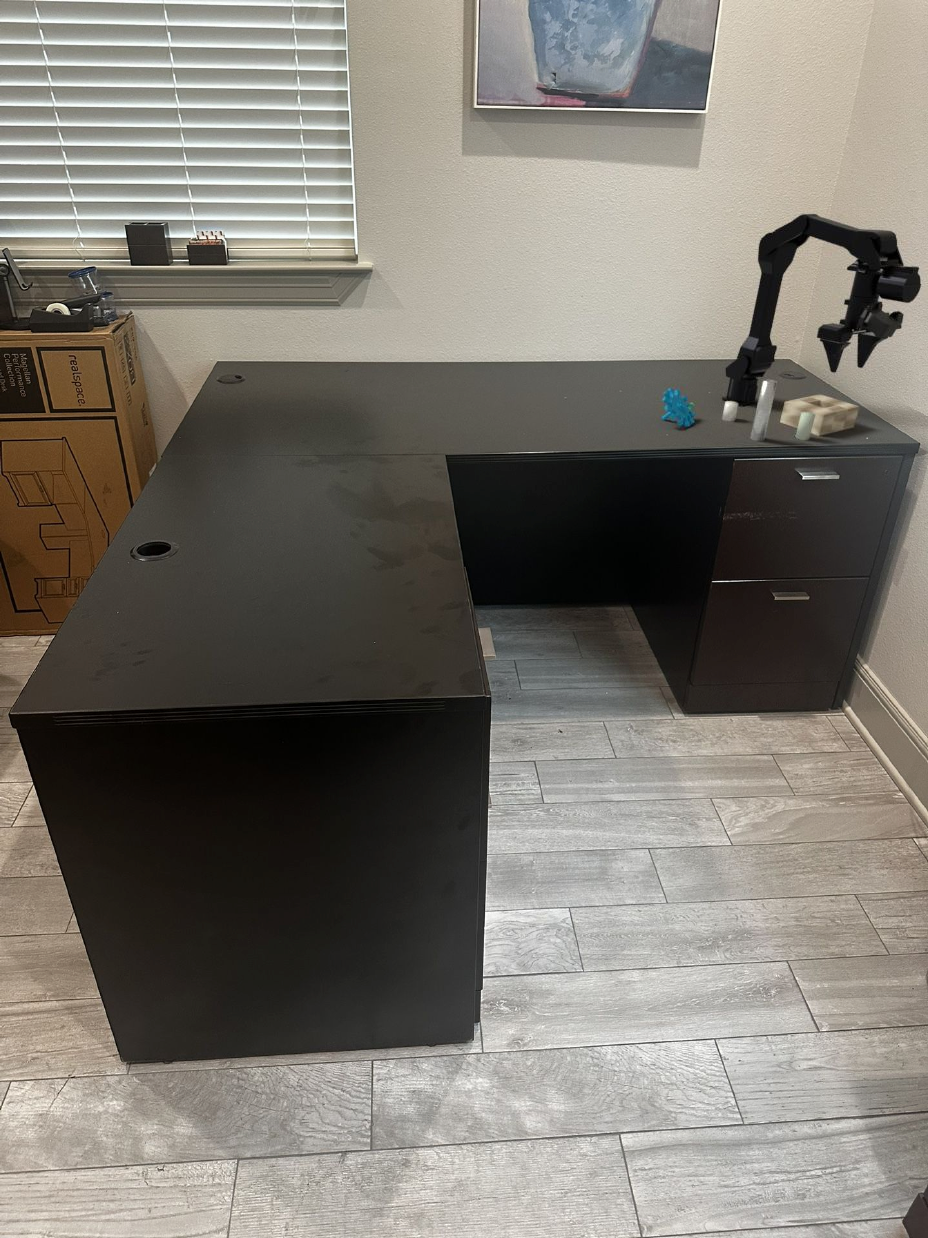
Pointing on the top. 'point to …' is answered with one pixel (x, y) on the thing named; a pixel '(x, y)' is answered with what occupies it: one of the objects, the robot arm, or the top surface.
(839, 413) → the hole block
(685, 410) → the blue spiky toy
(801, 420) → the mid pin
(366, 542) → the top surface
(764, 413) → the long pin
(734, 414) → the short pin
